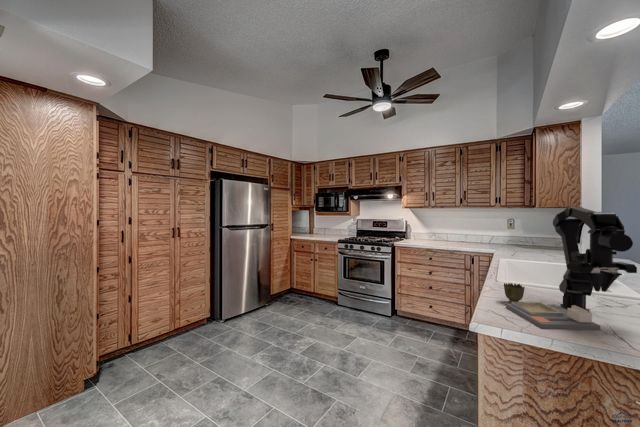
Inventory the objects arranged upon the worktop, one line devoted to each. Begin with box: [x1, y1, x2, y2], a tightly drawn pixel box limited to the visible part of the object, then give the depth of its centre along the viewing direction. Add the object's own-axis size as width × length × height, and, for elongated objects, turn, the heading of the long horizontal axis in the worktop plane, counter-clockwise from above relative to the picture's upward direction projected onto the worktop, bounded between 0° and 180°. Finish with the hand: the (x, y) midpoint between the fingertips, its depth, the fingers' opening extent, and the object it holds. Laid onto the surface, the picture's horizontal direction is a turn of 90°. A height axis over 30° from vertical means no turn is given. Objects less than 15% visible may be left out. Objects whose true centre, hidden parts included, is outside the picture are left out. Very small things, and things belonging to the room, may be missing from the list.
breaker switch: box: [566, 305, 593, 323], centre depth 97 cm, size 4×5×4 cm
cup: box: [503, 282, 525, 304], centre depth 119 cm, size 8×7×8 cm
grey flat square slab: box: [505, 303, 601, 331], centre depth 104 cm, size 19×20×2 cm
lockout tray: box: [510, 301, 564, 316], centre depth 107 cm, size 12×12×1 cm
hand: (600, 291), depth 97 cm, fingers closed
